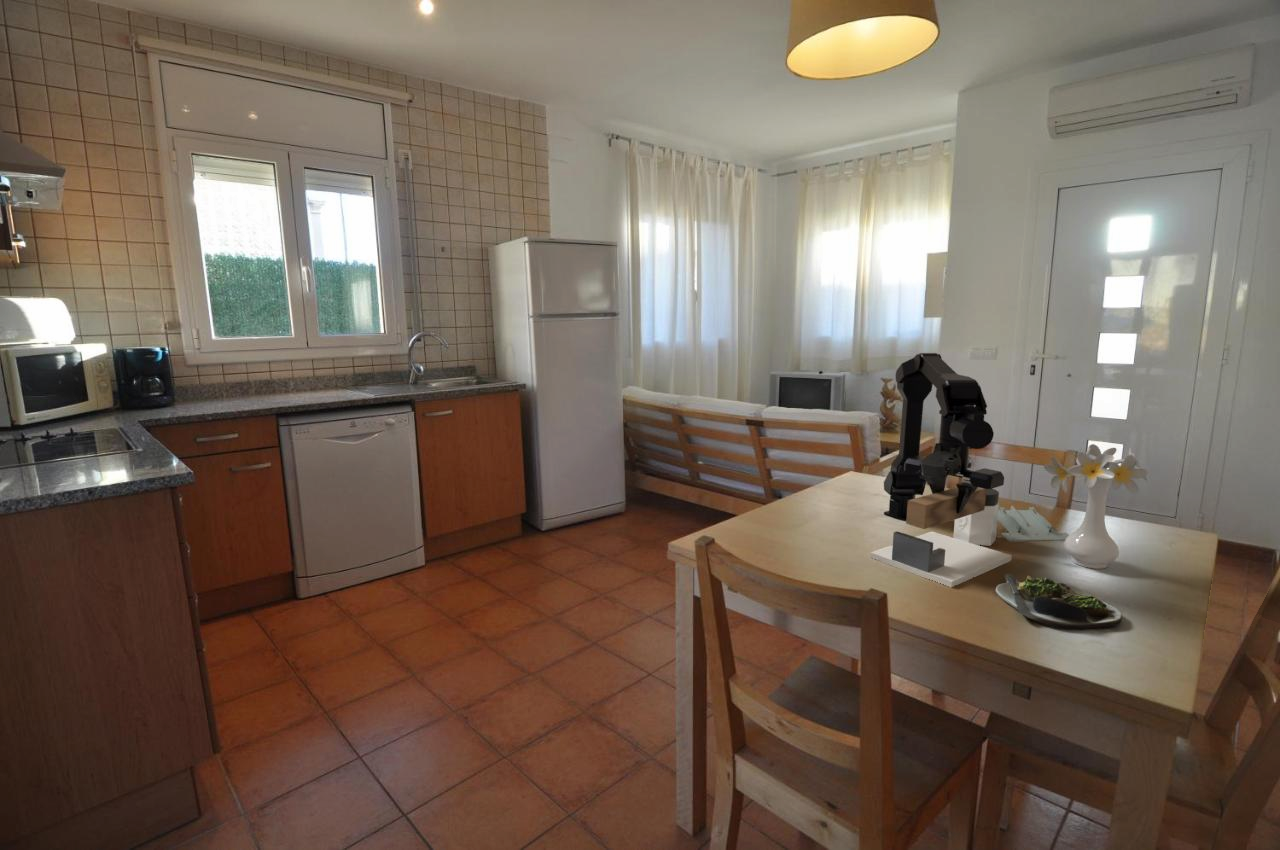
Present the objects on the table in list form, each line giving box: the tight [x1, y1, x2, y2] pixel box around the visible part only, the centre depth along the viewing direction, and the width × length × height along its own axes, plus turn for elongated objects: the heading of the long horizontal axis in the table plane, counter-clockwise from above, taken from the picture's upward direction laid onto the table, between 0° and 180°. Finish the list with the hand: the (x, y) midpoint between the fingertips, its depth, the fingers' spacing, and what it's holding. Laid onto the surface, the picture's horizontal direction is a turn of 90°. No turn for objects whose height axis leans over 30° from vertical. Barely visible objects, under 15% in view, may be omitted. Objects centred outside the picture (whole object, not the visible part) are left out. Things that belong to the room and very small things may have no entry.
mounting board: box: [869, 530, 1012, 588], centre depth 130 cm, size 23×18×1 cm
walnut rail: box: [905, 486, 986, 530], centre depth 129 cm, size 22×4×5 cm, turn 122°
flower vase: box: [1043, 443, 1149, 570], centre depth 124 cm, size 13×18×25 cm
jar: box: [952, 488, 1000, 547], centre depth 140 cm, size 9×8×12 cm
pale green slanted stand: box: [997, 505, 1070, 542], centre depth 146 cm, size 14×6×15 cm
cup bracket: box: [892, 531, 945, 573], centre depth 125 cm, size 6×8×6 cm
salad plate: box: [995, 573, 1123, 631], centre depth 109 cm, size 19×18×5 cm
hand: (948, 510), depth 129 cm, fingers closed on walnut rail, 4 cm apart
